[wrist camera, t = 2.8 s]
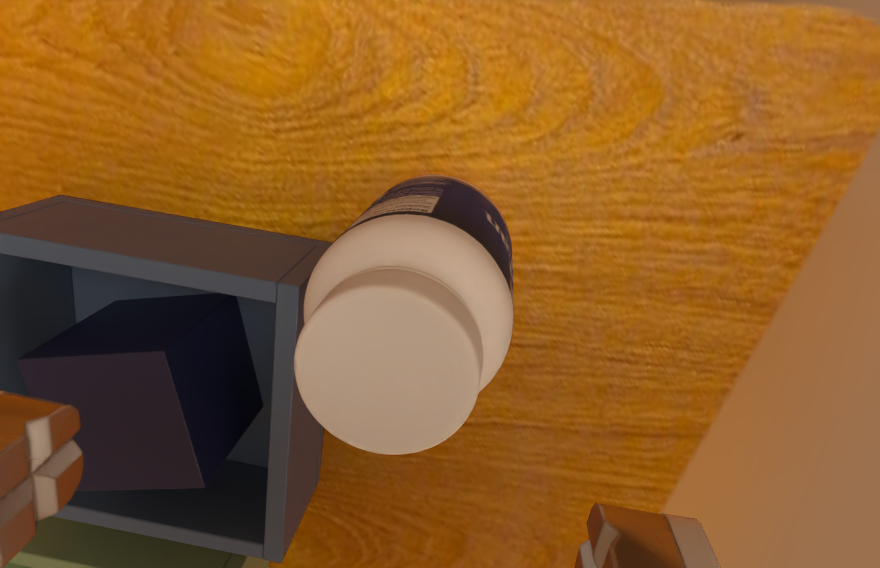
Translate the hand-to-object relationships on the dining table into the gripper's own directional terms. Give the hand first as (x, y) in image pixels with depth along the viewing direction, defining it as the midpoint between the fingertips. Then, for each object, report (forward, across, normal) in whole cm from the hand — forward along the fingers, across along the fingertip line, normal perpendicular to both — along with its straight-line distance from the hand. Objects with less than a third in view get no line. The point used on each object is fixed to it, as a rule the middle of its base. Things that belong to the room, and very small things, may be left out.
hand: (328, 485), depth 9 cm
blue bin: (+13, +9, +6) cm, 17 cm away
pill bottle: (+13, 0, 0) cm, 13 cm away
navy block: (+13, +9, +6) cm, 16 cm away
